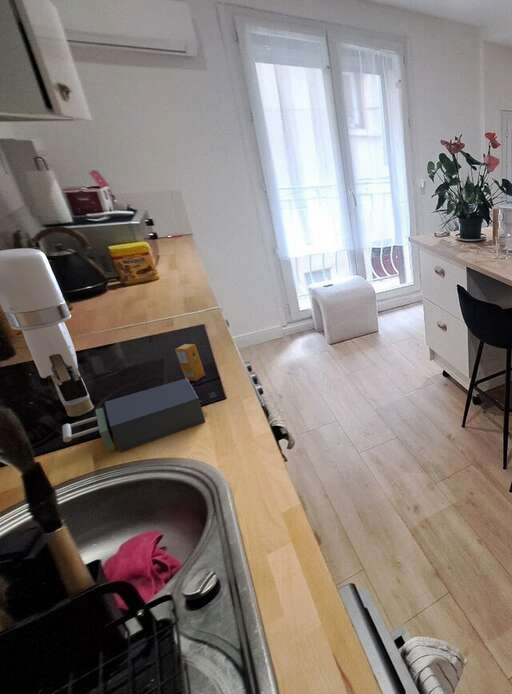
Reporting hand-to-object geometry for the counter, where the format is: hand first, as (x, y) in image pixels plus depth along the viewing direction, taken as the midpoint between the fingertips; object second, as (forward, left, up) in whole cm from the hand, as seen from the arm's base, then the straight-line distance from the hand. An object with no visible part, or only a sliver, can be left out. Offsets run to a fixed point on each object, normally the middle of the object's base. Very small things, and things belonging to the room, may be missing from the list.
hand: (76, 397), depth 83 cm
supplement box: (+20, +19, -12) cm, 31 cm away
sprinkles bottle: (-2, +19, -12) cm, 23 cm away
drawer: (+6, 0, -11) cm, 13 cm away
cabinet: (+10, 0, -12) cm, 16 cm away
